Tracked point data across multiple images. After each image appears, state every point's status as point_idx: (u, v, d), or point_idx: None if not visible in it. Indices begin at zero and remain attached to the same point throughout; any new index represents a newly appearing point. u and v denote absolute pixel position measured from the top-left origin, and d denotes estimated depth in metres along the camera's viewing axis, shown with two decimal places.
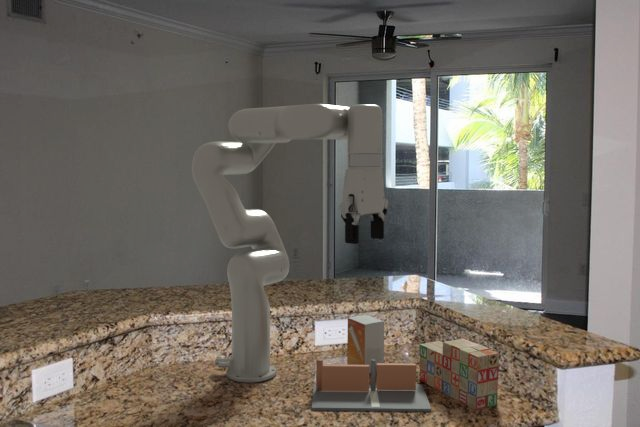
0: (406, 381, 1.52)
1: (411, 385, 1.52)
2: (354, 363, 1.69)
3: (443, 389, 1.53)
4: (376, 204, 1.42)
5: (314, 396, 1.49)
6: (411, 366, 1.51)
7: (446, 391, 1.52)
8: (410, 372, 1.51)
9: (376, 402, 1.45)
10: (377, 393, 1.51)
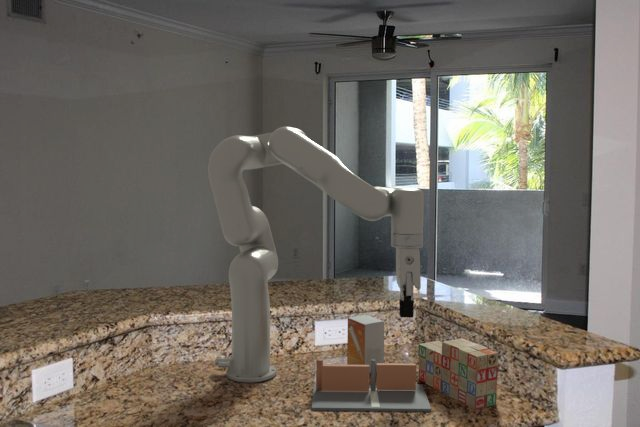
0: (406, 381, 1.52)
1: (411, 385, 1.52)
2: (354, 363, 1.69)
3: (442, 389, 1.53)
4: (397, 279, 1.54)
5: (314, 396, 1.49)
6: (411, 366, 1.51)
7: (445, 391, 1.52)
8: (410, 372, 1.51)
9: (376, 402, 1.45)
10: (377, 393, 1.51)
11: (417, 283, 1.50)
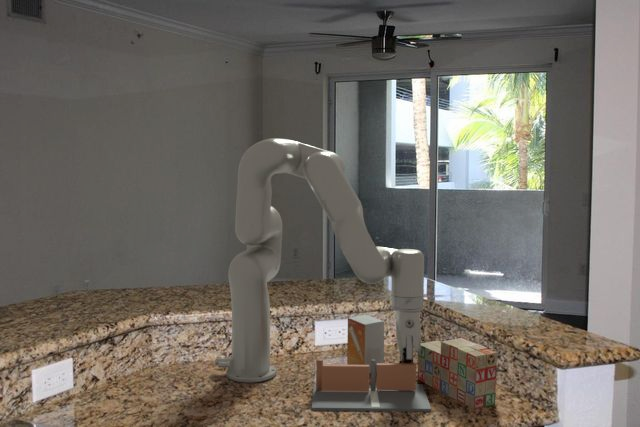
0: (406, 381, 1.52)
1: (411, 385, 1.52)
2: (354, 363, 1.69)
3: (441, 389, 1.53)
4: (397, 341, 1.54)
5: (314, 396, 1.49)
6: (411, 366, 1.51)
7: (444, 390, 1.52)
8: (410, 372, 1.51)
9: (376, 402, 1.45)
10: (377, 393, 1.51)
11: (417, 347, 1.50)
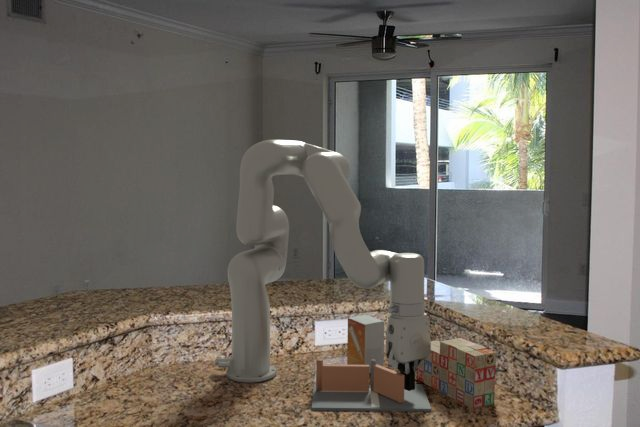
0: (393, 390, 1.46)
1: (397, 396, 1.45)
2: (354, 363, 1.69)
3: (440, 388, 1.54)
4: None
5: (314, 396, 1.49)
6: (397, 376, 1.45)
7: (443, 390, 1.53)
8: (396, 382, 1.45)
9: (376, 402, 1.45)
10: (377, 393, 1.51)
11: (396, 355, 1.43)
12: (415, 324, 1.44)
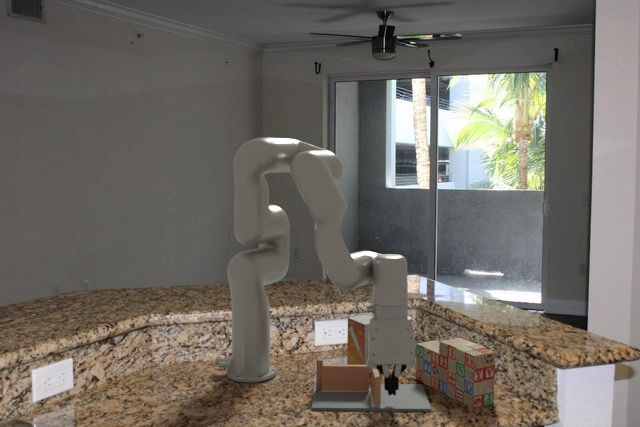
0: (374, 392, 1.45)
1: (374, 398, 1.44)
2: (354, 363, 1.69)
3: (440, 388, 1.54)
4: None
5: (314, 396, 1.49)
6: (374, 378, 1.43)
7: (443, 390, 1.53)
8: (374, 384, 1.44)
9: None
10: None
11: (369, 356, 1.42)
12: (392, 328, 1.40)
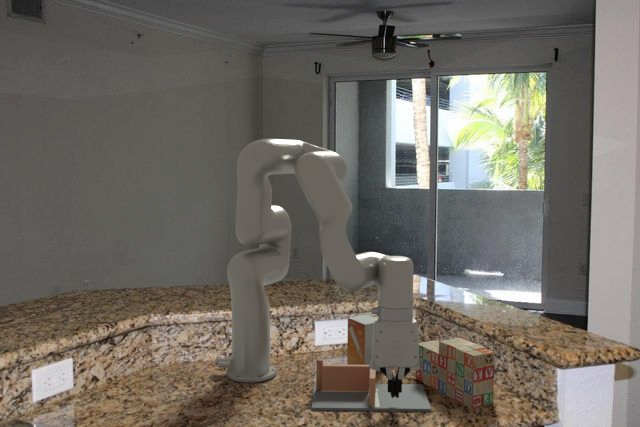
0: None
1: None
2: (354, 363, 1.69)
3: (439, 388, 1.54)
4: None
5: (314, 396, 1.49)
6: None
7: (442, 390, 1.53)
8: None
9: (376, 402, 1.45)
10: (377, 393, 1.51)
11: (372, 357, 1.41)
12: (396, 330, 1.40)
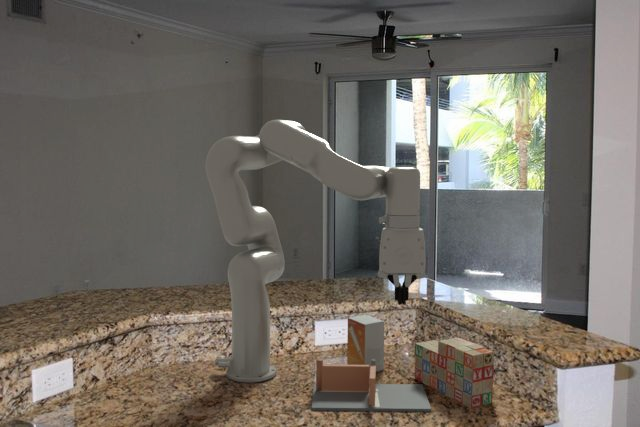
0: None
1: None
2: (354, 363, 1.69)
3: (438, 388, 1.54)
4: None
5: (314, 396, 1.49)
6: None
7: (441, 390, 1.53)
8: None
9: (376, 402, 1.45)
10: (377, 393, 1.51)
11: (380, 265, 1.45)
12: (403, 237, 1.43)
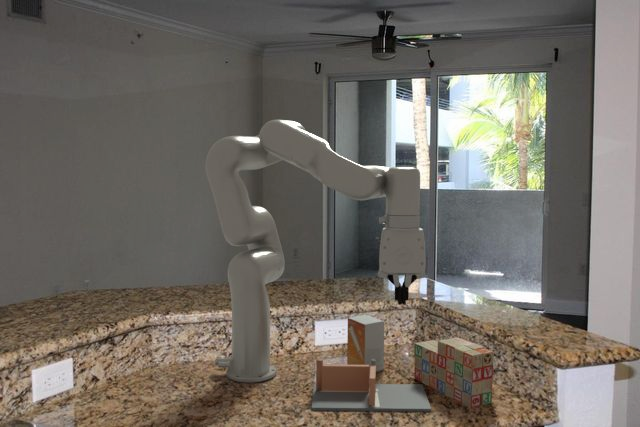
0: None
1: None
2: (354, 363, 1.69)
3: (438, 388, 1.54)
4: None
5: (314, 396, 1.49)
6: None
7: (441, 390, 1.53)
8: None
9: (376, 402, 1.45)
10: (377, 393, 1.51)
11: (380, 265, 1.45)
12: (403, 237, 1.43)
